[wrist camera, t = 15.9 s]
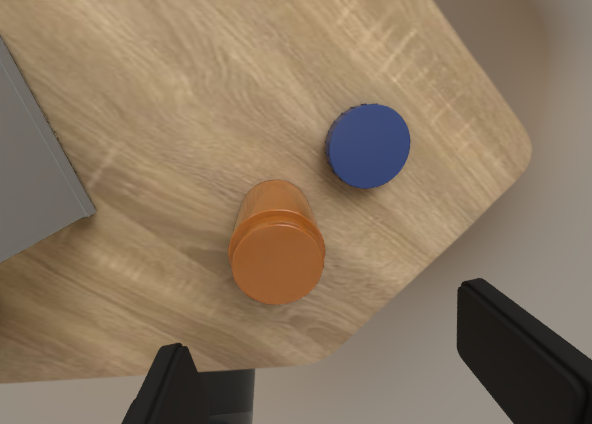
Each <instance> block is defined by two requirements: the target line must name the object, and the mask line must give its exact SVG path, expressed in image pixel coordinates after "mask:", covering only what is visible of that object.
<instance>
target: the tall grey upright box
mask: <svg viewBox="0 0 592 424" xmlns="http://www.w3.org/2000/svg"><path fill="white" fill-rule="evenodd" d="M94 213H96V211H95V209H94V206H93V204H92V203H91V201H90V200H89V198H88V196H87V194H86V192H85V190H84V189H83V187H82V185H81V183H80V181H79V179H78V178H77V176H76V174H75V172H74V170H73V168H72V167H71V165H70V163H69V161H68V159H67V157H66V156H65V154H64V152H63V150H62V148H61V147H60V145H59V143H58V141H57V139H56V137H55V136H54V134H53V132H52V130H51V128H50V126H49V125H48V123H47V121H46V119H45V117H44V115H43V114H42V112H41V110H40V108H39V106H38V104H37V103H36V101H35V99H34V97H33V95H32V94H31V92H30V90H29V88H28V86H27V84H26V83H25V81H24V79H23V77H22V75H21V73H20V72H19V70H18V68H17V66H16V64H15V62H14V61H13V59H12V57H11V55H10V53H9V51H8V49H7V47H6V46H5V44H4V42H3V40H2V39H1V37H0V263H1V262H3V261H5V260H7V259H9V258H10V257H12V256H14V255H16V254H18V253H19V252H21V251H23V250H25V249H26V248H28V247H30V246H32V245H34V244H35V243H37V242H39V241H41V240H43V239H44V238H46V237H48V236H50V235H52V234H53V233H55V232H57V231H59V230H61V229H62V228H64V227H66V226H68V225H69V224H71V223H73V222H75V221H77V220H78V219H82V218H85V217H89V216H90V215H92V214H94Z"/></svg>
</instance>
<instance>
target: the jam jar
mask: <svg viewBox="0 0 592 424" xmlns="http://www.w3.org/2000/svg"><path fill="white" fill-rule="evenodd" d="M228 258H229V263H230V266H231V269H232V274H233V277H234V280H235V282H236V284H237V285H238V287H239V288H240V289H241V290H242V291H243V292H244V293H245V294H246V295H247V296H249V297H250V298H252V299H254V300H256V301H258V302H261V303H265V304H272V305H280V304H287V303H291V302H294V301H297V300H299V299H301V298H302V297H304V296H306V295H307V294H308V293H309V292H310V291H311V290H312V289H313V288H314V287H315V286H316V284H317V283H318V281H319V279H320V277H321V274H322V270H323V267H324V258H325V244H324V240H323V237H322V234H321V232H320V229H319V227H318V225H317V222H316V220H315V217H314V215H313V213H312V210H311V208H310V205H309V203H308V200H307V198H306V197H305V195H304V194H303V192H302V191H301V190H300V189H299V188H297V187H296V186H295V185H293V184H291V183H289V182H286V181H281V180H269V181H265V182H262V183H260V184H258V185H256V186H255V187H253V188H252V189H251V190H250V191H249V192H248V193H247V194H246V196H245V198H244V200H243V202H242V205H241V208H240V211H239V214H238V218H237V221H236V224H235V227H234V230H233V233H232V237H231V240H230V243H229V249H228Z"/></svg>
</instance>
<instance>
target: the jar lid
mask: <svg viewBox="0 0 592 424" xmlns="http://www.w3.org/2000/svg"><path fill="white" fill-rule="evenodd" d="M328 132H329V133H328V136H327V140H326V141H325V143H326V152H325V154H326V156H327V160H328V162H327V163H328V164H329V165H330V167H331V168H332V172H333V173H334V174H336V175H337V176H338V177H339V179H341V180H342V181H344V182H346V183H347V184H349V185H350V186H354V187H357V188H374V187H378V186H381V185H383V184H385V183H387V182H388V181H390V180H391V179H393V178H394V177H395V176H396V175H397V174H398V173H399V172H400V170H401V169H402V168H403V166H404V164H405V162H406V160H407V157H408V154H409V150H410V135H409V130H408V127H407V125H406V123H405V121H404V120H403V118H402V117H401V116H400V115H399V114H398V113H397V112H396V111H394V110H393V109H391V108H389V107H387V106H383V105H378V104H370V105H367V104H361V105H360V106H356V107H351V109H349V110H347V111H346V112H344V113H341V115H340V116H339V117H338V118H337V120H336V121H334V123H333V125H332V127H331V129H330V131H328Z"/></svg>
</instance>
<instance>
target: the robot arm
mask: <svg viewBox="0 0 592 424" xmlns="http://www.w3.org/2000/svg"><path fill="white" fill-rule="evenodd" d="M457 296H458V297H457V298H458V299H457V350H458V353H459V355H460V357H461V358H462V360H463V361H464V362H465V363H466V365H467V366H468V367H469V368H470V370H471V371H472V372H473V373H474V375H475V376H476V377H477V378H478V380H479V381H480V382H481V383H482V385H483V386H484V387H485V388H486V390H487V391H488V392H489V393H490V395H492V397H493V398H494V400H495V401H496V402H497V403H498V404H499V406H500V407H501V408H502V409H503V411H504V412H505V413H506V414H507V416H508V417H509V418H510V419H511V421H512V422H513V423H514V424H592V360H591V359H590V358H588V357H587V356H586V355H584V354H583V353H582V352H580V351H579V350H578V349H576V348H575V347H574V346H572V345H571V344H570V343H568V342H567V341H566V340H564V339H563V338H562V337H560V336H559V335H557V334H556V333H555V332H554V331H552V330H551V329H550V328H548V327H547V326H546V325H544V324H543V323H542V322H540V321H539V320H538V319H536V318H535V317H534V316H532V315H531V314H530V313H528V312H527V311H526V310H524V309H523V308H521V307H520V306H519V305H518V304H516V303H515V302H514V301H512V300H511V299H509V298H508V297H507V296H505V295H504V294H503V293H501V292H500V291H499V290H498V289H496V288H495V287H493V286H492V285H491V284H489V283H488V282H487V281H485V280H484V279H482V278H477V279H473V280H468V281H464V282H462V284H461V287H459V288H458V295H457ZM210 411H211V408H210V402H209V399H208V396H207V394H206V391H205V389H204V386H203V384H202V381H201V379H200V377H199V374H198V372H197V369H196V367H195V364H194V362H193V359H192V357H191V354H190V352H189V349H188V347H187V346H182V344H181V343H175V344H170V345H166V346H162V347H161V348H160V349H159V351H158V353H157V355H156V357H155V359H154V361H153V363H152V365H151V368H150V370H149V372H148V374H147V376H146V378H145V381H144V382H143V385H142V387H141V389H140V391H139V393H138V395H137V397H136V399H135V400H134V401H133V402H132V404H131V405H130V407H129V409H128V411H127V413H126V416H125V418H124V420H123V422H122V424H208V423H209V418H210Z"/></svg>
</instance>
